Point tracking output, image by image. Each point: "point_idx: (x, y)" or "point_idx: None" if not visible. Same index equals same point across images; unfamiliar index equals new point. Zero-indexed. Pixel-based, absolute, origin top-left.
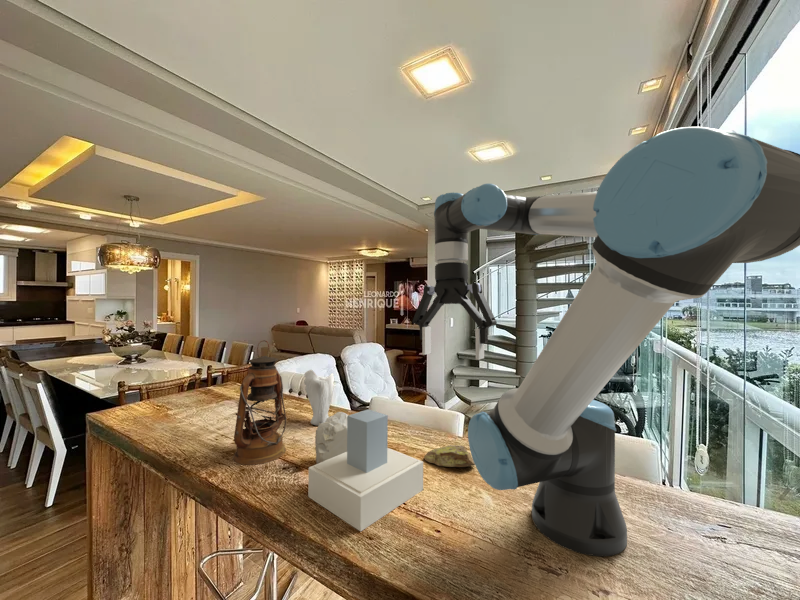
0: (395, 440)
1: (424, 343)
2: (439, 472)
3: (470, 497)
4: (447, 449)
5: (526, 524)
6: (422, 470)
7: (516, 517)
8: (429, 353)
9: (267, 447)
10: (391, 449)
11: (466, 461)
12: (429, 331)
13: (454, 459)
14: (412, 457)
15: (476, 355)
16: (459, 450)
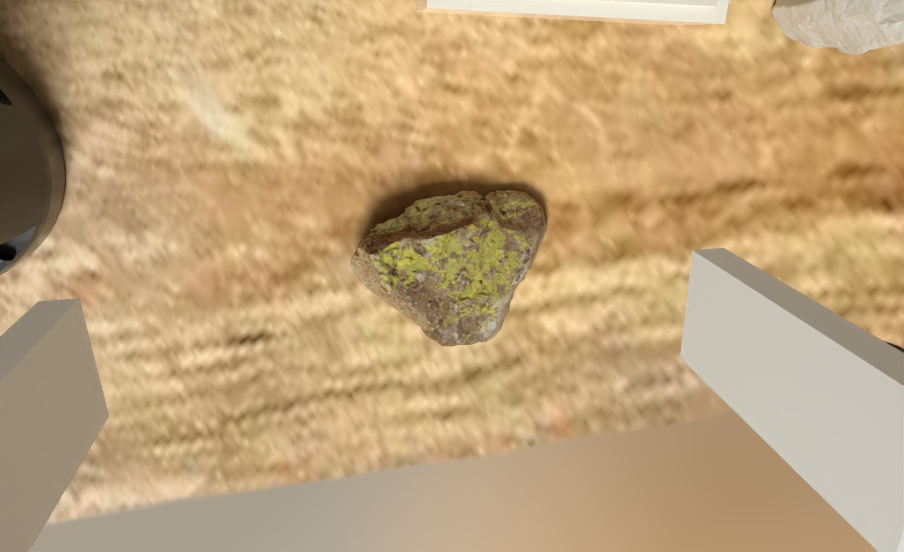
0: None
1: (770, 296)
2: (439, 159)
3: (261, 82)
4: (472, 269)
5: (38, 59)
6: (423, 3)
7: (82, 75)
8: (686, 332)
9: None
10: (604, 15)
11: (365, 237)
12: (848, 479)
13: (413, 226)
14: (485, 10)
15: (51, 316)
16: (431, 293)
